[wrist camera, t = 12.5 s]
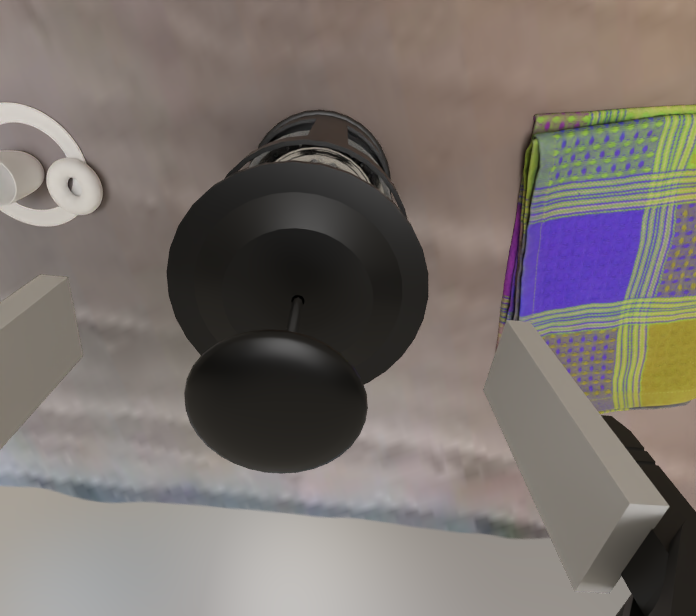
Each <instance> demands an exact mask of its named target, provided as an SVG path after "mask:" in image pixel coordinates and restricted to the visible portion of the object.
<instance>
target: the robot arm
mask: <svg viewBox="0 0 696 616" xmlns="http://www.w3.org/2000/svg"><path fill="white" fill-rule="evenodd" d="M82 357H83V352H82V347H81V342H80V336H79V331H78V326H77V321H76V316H75V311H74V305H73V300H72V295H71V290H70V285H69V279H68V277H61V276H51V275H41V274H40V275H39V276H37V277H36V278H35V279H33V280H32V281H30V282H29V283H27V284H26V285H25V286H23V287H22V288H20V289H19V290H17V291H16V292H14V293H13V294H12V295H10V296H9V297H7V298H6V299H4V300H3V301H2V302H0V449H1V448H2V447H3V446H4V445H5V444H6V443H7V442H8V440H9V439H10V438H11V437H12V436H13V435H14V434H15V432H16V431H17V430H18V429H19V428H20V427H21V426H22V425H23V423H24V422H25V421H26V420H27V419H28V418H29V417H30V416H31V414H32V413H33V412H34V411H35V410H36V409H37V408H38V406H39V405H40V404H41V403H42V402H43V401H44V400H45V399H46V397H47V396H48V395H49V394H50V393H51V392H52V391H53V389H54V388H55V387H56V386H57V385H58V384H59V383H60V382H61V380H62V379H63V378H64V377H65V376H66V375H67V374H68V372H69V371H70V370H71V369H72V368H73V367H74V366H75V365H76V363H77V362H78V361H79V360H80V359H81V358H82ZM483 390H484V392H485V395H486V397H487V399H488V401H489V404H490V406H491V408H492V410H493V412H494V415H495V417H496V419H497V421H498V423H499V426H500V428H501V430H502V432H503V434H504V437H505V439H506V441H507V443H508V445H509V448H510V450H511V452H512V454H513V457H514V459H515V461H516V463H517V465H518V468H519V470H520V472H521V474H522V476H523V479H524V481H525V483H526V485H527V487H528V490H529V492H530V494H531V496H532V499H533V501H534V503H535V505H536V507H537V510H538V512H539V514H540V516H541V518H542V521H543V523H544V525H545V527H546V529H547V532H548V534H549V536H550V538H551V541H552V543H553V545H554V547H555V549H556V551H557V554H558V556H559V558H560V560H561V562H562V565H563V567H564V569H565V571H566V573H567V576H568V578H569V580H570V582H571V585H572V587H573V589H574V591H575V592H590V593H610V592H611V590H612V589H613V587H614V586H615V585H616V583H617V582H618V580H619V579H620V577H621V576H622V577H623V579H624V580H625V582H626V584H627V586H628V588H629V590H630V592H631V593H632V594H631V596H630V597H629V598H628V600H627V601H626V602H625V604H624V605H623V607H622V608H621V609H620V611H619V612H618V613H617V615H616V616H696V512H695V510H694V509H693V508H692V507H691V505H690V504H689V503H688V502H687V501H686V499H685V498H684V497H683V496H682V494H681V493H680V492H679V491H678V489H677V488H676V487H675V486H674V484H673V483H672V482H671V481H670V479H669V478H668V477H667V476H666V474H665V473H664V472H663V471H662V470H661V468H660V467H659V466H657V465H655V461H654V460H653V458H652V457H651V456H650V455H649V453H648V452H647V451H644V447H643V446H642V445H641V443H640V442H639V441H638V440H637V439H636V437H635V436H634V435H633V434H632V432H631V431H630V430H628V429H627V428H626V427H625V426H623V425H622V424H621V423H619V422H618V421H617V420H616V419H614V418H613V417H612V416H604V415H600V414H599V412H598V411H597V410H596V408H595V407H594V406H593V404H592V403H591V402H590V400H589V399H588V398H587V396H586V395H585V394H584V393H583V391H582V390H581V389H580V387H579V386H578V385H577V383H576V382H575V381H574V379H573V378H572V377H571V375H570V374H569V373H568V371H567V370H566V369H565V367H564V366H563V365H562V363H561V362H560V361H559V360H558V358H557V357H556V356H555V354H554V353H553V352H552V350H551V349H550V348H549V346H548V345H547V344H546V342H545V341H544V340H543V338H542V337H541V336H540V334H539V333H538V332H537V330H536V329H535V328H534V326H533V325H532V324H531V323H530V322H524V321H514V320H506V323H505V326H504V329H503V332H502V335H501V338H500V341H499V344H498V347H497V350H496V353H495V356H494V359H493V362H492V365H491V368H490V371H489V374H488V377H487V380H486V383H485V386H484V389H483Z"/></svg>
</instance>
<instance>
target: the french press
mask: <svg viewBox="0 0 696 616" xmlns="http://www.w3.org/2000/svg"><path fill="white" fill-rule="evenodd" d="M251 160H252V161H251ZM249 161H251V163H250V165H249V167H248V168H247V169H244V170H241V171H238V170H239V169H240V168H242V167H243V166H244V165H245V164H246V163H247V162H249ZM391 192H392V193H393V195H394V198H395V200H396V202H397V204H398V207H399V208H398V207H397V206H396V204H395V203H394V202H393V201H392V198H391ZM167 281H168V292H169V298H170V301H171V304H172V307H173V311H174V314H175V317H176V319H177V321H178V323H179V325H180V326H181V328H182V330H183V332H184V334H185V335H186V337H187V339H188V340H189V341H190V342H191V344H192V345H193V346H194V347H195V349H196V350H197V351H198V352H199V353H200V355H201V357H200V358H199V359H198V360H197V362H196V363H195V364H194V365H193V367H192V369H191V371H190V373H189V376H188V378H187V381H186V387H185V392H184V395H185V407H186V412H187V415H188V417H189V420H190V423H191V425H192V427H193V428H194V430H195V431H196V433H197V435H198V436H199V437H200V438H201V439H202V440H203V442H204V443H205V444H206V445H207V446H208V447H209V448H211V449H212V450H213V451H215V452H216V453H217V454H219V455H220V456H221V457H223V458H225V459H227V460H229V461H231V462H233V463H234V464H237V465H240V466H243V467H246V468H248V469H252V470H257V471H262V472H268V473H296V472H302V471H306V470H311V469H314V468H317V467H320V466H322V465H325V464H327V463H329V462H331V461H332V460H334V459H336V458H338V457H339V456H341V455H342V454H343V453H344V452H345V451H346V450H347V449H349V448H350V447H351V446H352V444H353V443H354V441H355V440H356V439H357V437H358V436H359V434H360V432H361V430H362V428H363V425H364V423H365V421H366V415H367V409H368V406H367V394H366V391H365V388H364V384H366V383H368V382H370V381H371V380H373V379H374V378H376V377H377V376H379V375H381V374H382V373H384V372H385V371H387V370H388V369H389V368H390V367H391V366H392V365H393V364H394V363H395V362H396V361H397V360H398V359H399V358H400V357H402V355H403V354H404V353H405V351H406V350H407V348H408V347H409V346H410V344H411V343H412V341H413V340H414V339H415V336H416V334H417V332H418V330H419V328H420V325H421V323H422V321H423V319H424V314H425V310H426V305H427V300H428V271H427V266H426V262H425V258H424V253H423V249H422V247H421V245H420V243H419V241H418V239H417V236H416V234H415V232H414V230H413V228H412V226H411V224H410V223H409V221H408V220H407V216H406V212H405V208H404V206H403V204H402V202H401V199H400V197H399V195H398V193H397V191H396V189H395V187H394V184H393V183H392V182H391V180H390V171H389V166H388V162H387V159H386V157H385V154H384V152H383V150H382V148H381V146H380V144H379V143H378V142H377V140H376V139H375V137H374V136H373V135H372V133H370V132H369V131H368V130H367V129H366V128H365V127H364V126H363V125H362V124H360V123H359V122H357V121H355V120H354V119H352V118H350V117H349V116H346V115H343V114H340V113H337V112H334V111H325V110H312V111H304V112H301V113H298V114H295V115H292V116H290V117H288V118H286V119H285V120H283V121H281V122H279V123H278V124H277V125H276V126H275V127H274V128H273V129H272V130H270V131H269V132H268V133H267V135H266V136H265V137H264V139H263V140H262V142H261V143H260V144H259V146H258V149H257V150H255V151H253V152H252V153H250V154H249V155H248V156H246V157H245V158H244V159H243V160H242V161H241V162H240V163H239V164H238V165H237V166H236V167H234V168H233V169H232V170H231V171H230V172H229V173H228V174H227V176H226V177H225V179H224V180H222V181H220V182H218V183H217V184H215V185H214V186H213V187H211V188H210V189H209V190H208V191H207V192H206V193H205V194H204V195H203V196H202V197H201V198H199V199H198V200H197V201H196V202H195V203H194V204H193V205H192V207H191V208H190V210H189V211H188V212H187V214H186V215H185V217H184V218H183V220H182V221H181V223H180V224H179V226H178V228H177V231H176V234H175V236H174V239H173V242H172V244H171V247H170V251H169V259H168V266H167Z"/></svg>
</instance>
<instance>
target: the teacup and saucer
mask: <svg viewBox="0 0 696 616" xmlns="http://www.w3.org/2000/svg"><path fill="white" fill-rule="evenodd" d="M9 122H18V123H24V124H28V125H31V126H33V127H35V128H38V129H39V130H41V131H43V132H44V133H46V134H47V135H48V136H50V137H51V138H52V139H53V140H54V141H55V142H56V143H57V144H58V145H59V146H60V148H61V149H62V150H63V152H64V153H65V155H66V157H67V158H62V159H59V160H57V161H55V162H54V163H53V164H52V165H51V166H50V167H49V169H48V172H47V176H46V184H47V188H48V191H49V193H50V195H51V197H52V198H53V200H54V201H55V202H56V203H57V205H58V207H56V208H53V209H49V210H35V209H30V208H27V207H24V206H22V205H20V204H18V203H16V201H18V200H20V199H22V198H24V197H26V196H27V195H29V194H31V193H32V192H34V191H35V190H37V189H38V188H39V187H40V186H41V184H42V182H43V180H44V169H43V166H42V165H41V163H40V162H39V161H38V160H37V159H36V158H35V157H34V156H32V155H30V154H28V153H25V152H22V151H16V150H0V210H1V211H2V212H4V213H5V214H7V215H8V216H10V217H12V218H14V219H16V220H19V221H21V222H24V223H27V224H31V225H35V226H57V225H61V224H64V223H66V222H69V221H70V220H72V219H74V218H75V217H76V216H77V215H87V214H90V213H92V212H93V211H95V210H96V209H97V208H98V207H99V205H100V204H101V201H102V197H103V189H102V184H101V182H100V179H99V177H98V176H97V174H96V173H95V172H94V170H93V169H92V168H91V167H89V166H88V165H87V163H86V161H85V158H84V156H83V154H82V152H81V150H80V148H79V147H78V145H77V144H76V142H75V141H74V139H73V138H72V137H71V136H70V134H69V133H68V132H67V131H66V130H65V129H64V128H63V127H62V126H61V125H60V124H59V123H57V122H56V121H55V120H53V119H52V118H51V117H49V116H48V115H46V114H44V113H43V112H41V111H39V110H37V109H34V108H32V107H29V106H26V105H23V104H18V103H11V102H1V103H0V125H1V124H4V123H9ZM70 178H73V185H72V190H71V191H70V189H69V187H68V180H69V179H70Z"/></svg>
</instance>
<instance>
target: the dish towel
mask: <svg viewBox="0 0 696 616" xmlns="http://www.w3.org/2000/svg"><path fill="white" fill-rule="evenodd" d="M506 320H514V321H524V322H530V323H531V324H532V325H533V326H534V328H535V329H536V330H537V332H538V333H539V334H540V336H541V337H542V338H543V340H544V341H545V342H546V344H547V345H548V346H549V348H550V349H551V350H552V352H553V353H554V354H555V356H556V357H557V358H558V360H559V361H560V362H561V363H562V365H563V366H564V367H565V369H566V370H567V371H568V373H569V374H570V375H571V377H572V378H573V379H574V381H575V382H576V383H577V385H578V386H579V387H580V389H581V390H582V391H583V393H584V394H585V395H586V396H587V398H588V399H589V400H590V402H591V403H592V404H593V406H594V407H595V408H596V410H597V411H598V412H599V414H602V413H608V412H614V411H625V410H636V409H660V408H671V407H676V406H684V405H686V404H688V403H689V402H690V401H691V400H692V399H695V398H696V105H677V106H661V107H638V108H626V109H613V110H602V111H591V112H574V113H549V114H536V115H534V127H533V133H532V138H531V141H530V145H529V147H528V148H527V150H526V153H525V164H524V170H523V176H522V181H521V186H520V192H519V199H518V207H517V214H516V220H515V225H514V231H513V236H512V241H511V246H510V250H509V257H508V262H507V270H506V275H505V282H504V291H503V297H502V302H501V310H500V321H499V331H498V339H497V346H496V350H497V347H498V344H499V341H500V338H501V335H502V332H503V329H504V326H505V323H506Z"/></svg>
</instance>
